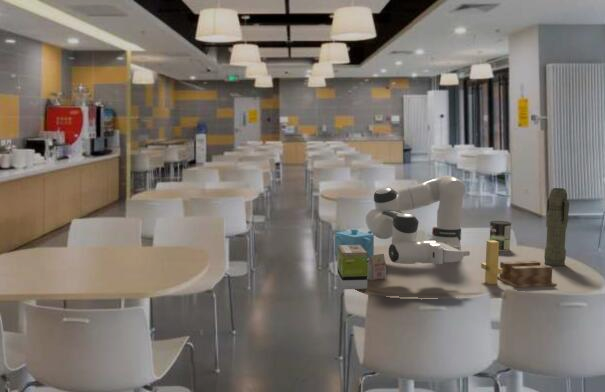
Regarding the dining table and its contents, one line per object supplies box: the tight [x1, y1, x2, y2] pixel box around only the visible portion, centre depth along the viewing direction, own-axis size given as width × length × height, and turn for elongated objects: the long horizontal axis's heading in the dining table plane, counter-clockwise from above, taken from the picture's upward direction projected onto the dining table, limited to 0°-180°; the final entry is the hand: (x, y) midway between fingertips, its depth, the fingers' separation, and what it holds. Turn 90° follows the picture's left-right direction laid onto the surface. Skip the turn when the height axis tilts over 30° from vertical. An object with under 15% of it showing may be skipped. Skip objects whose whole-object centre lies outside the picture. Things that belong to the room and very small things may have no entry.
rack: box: [497, 260, 558, 288], centre depth 248 cm, size 18×16×7 cm
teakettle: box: [333, 228, 375, 259], centre depth 285 cm, size 19×19×15 cm
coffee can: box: [489, 220, 512, 252], centre depth 312 cm, size 10×10×14 cm
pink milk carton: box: [367, 253, 387, 281], centre depth 251 cm, size 4×7×10 cm, turn 117°
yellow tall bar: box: [480, 240, 503, 285], centre depth 244 cm, size 4×11×17 cm, turn 10°
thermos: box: [543, 187, 570, 267], centre depth 277 cm, size 9×12×35 cm
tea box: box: [336, 245, 368, 290], centre depth 241 cm, size 15×10×15 cm, turn 5°
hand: (463, 250), depth 241 cm, fingers open, 8 cm apart
